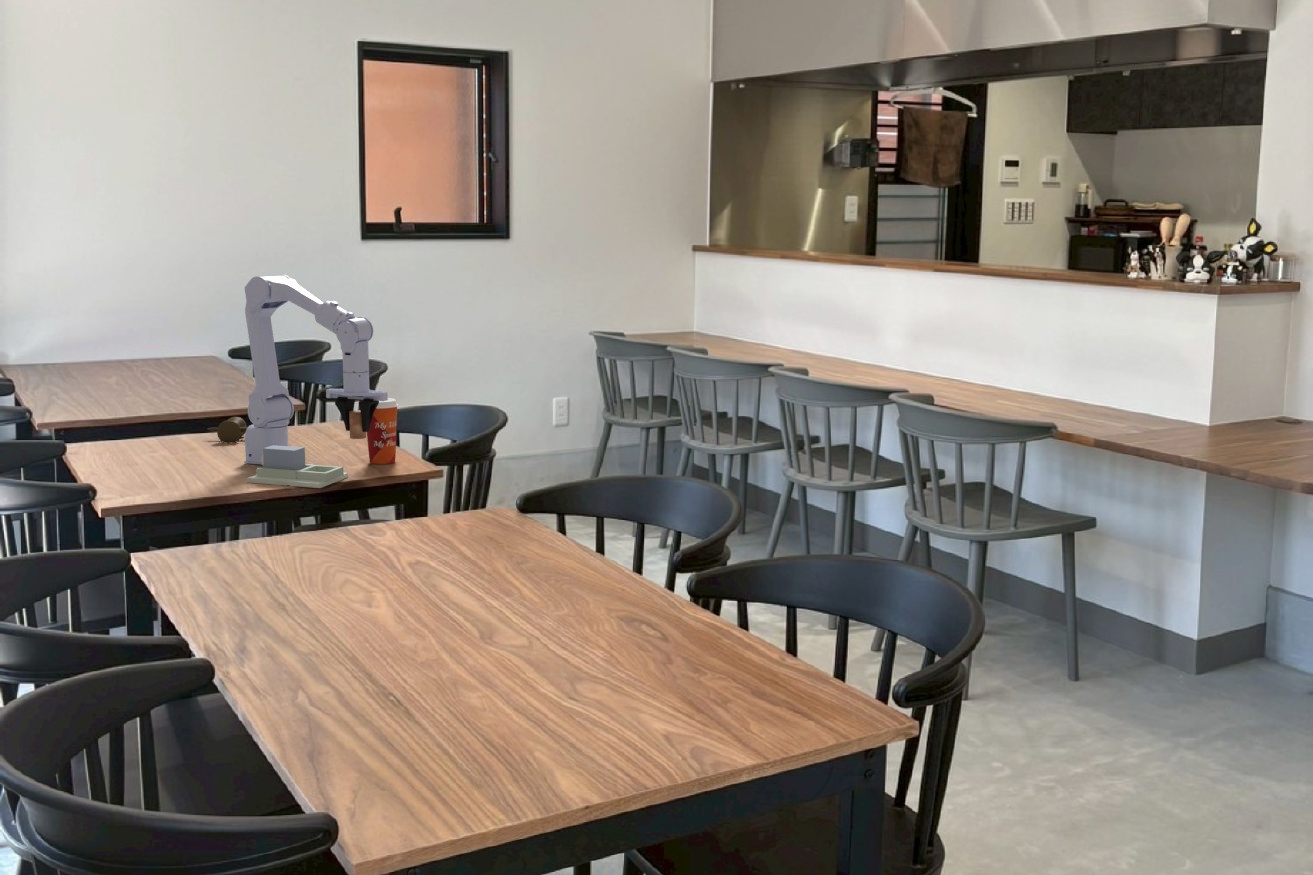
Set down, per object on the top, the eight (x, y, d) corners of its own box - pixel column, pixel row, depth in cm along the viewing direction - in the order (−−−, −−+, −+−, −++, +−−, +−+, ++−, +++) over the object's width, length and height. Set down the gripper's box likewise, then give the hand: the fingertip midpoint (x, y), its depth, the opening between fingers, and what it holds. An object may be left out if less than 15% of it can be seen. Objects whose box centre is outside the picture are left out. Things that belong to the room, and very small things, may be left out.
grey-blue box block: (260, 474, 286) (259, 448, 285) (270, 470, 289) (269, 444, 288) (295, 477, 283) (294, 450, 282) (305, 473, 287) (304, 447, 286)
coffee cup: (380, 466, 300) (378, 403, 297) (357, 462, 305) (355, 400, 302) (407, 461, 307) (406, 399, 304) (384, 457, 312) (383, 396, 309)
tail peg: (347, 438, 291) (346, 412, 290) (354, 435, 294) (354, 409, 293) (361, 439, 290) (360, 413, 289) (369, 436, 293) (368, 410, 292)
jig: (247, 482, 282) (246, 469, 282) (278, 471, 293) (277, 459, 293) (320, 488, 277) (320, 475, 277) (349, 477, 289) (348, 465, 288)
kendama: (283, 444, 329) (203, 443, 327) (289, 439, 339) (211, 437, 336) (283, 421, 328) (202, 420, 326) (289, 416, 338) (211, 415, 335)
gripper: (318, 372, 287) (320, 431, 290) (376, 375, 283) (377, 435, 286) (334, 368, 294) (336, 426, 296) (391, 371, 290) (393, 430, 292)
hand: (357, 430), depth 292 cm, fingers closed on tail peg, 4 cm apart
